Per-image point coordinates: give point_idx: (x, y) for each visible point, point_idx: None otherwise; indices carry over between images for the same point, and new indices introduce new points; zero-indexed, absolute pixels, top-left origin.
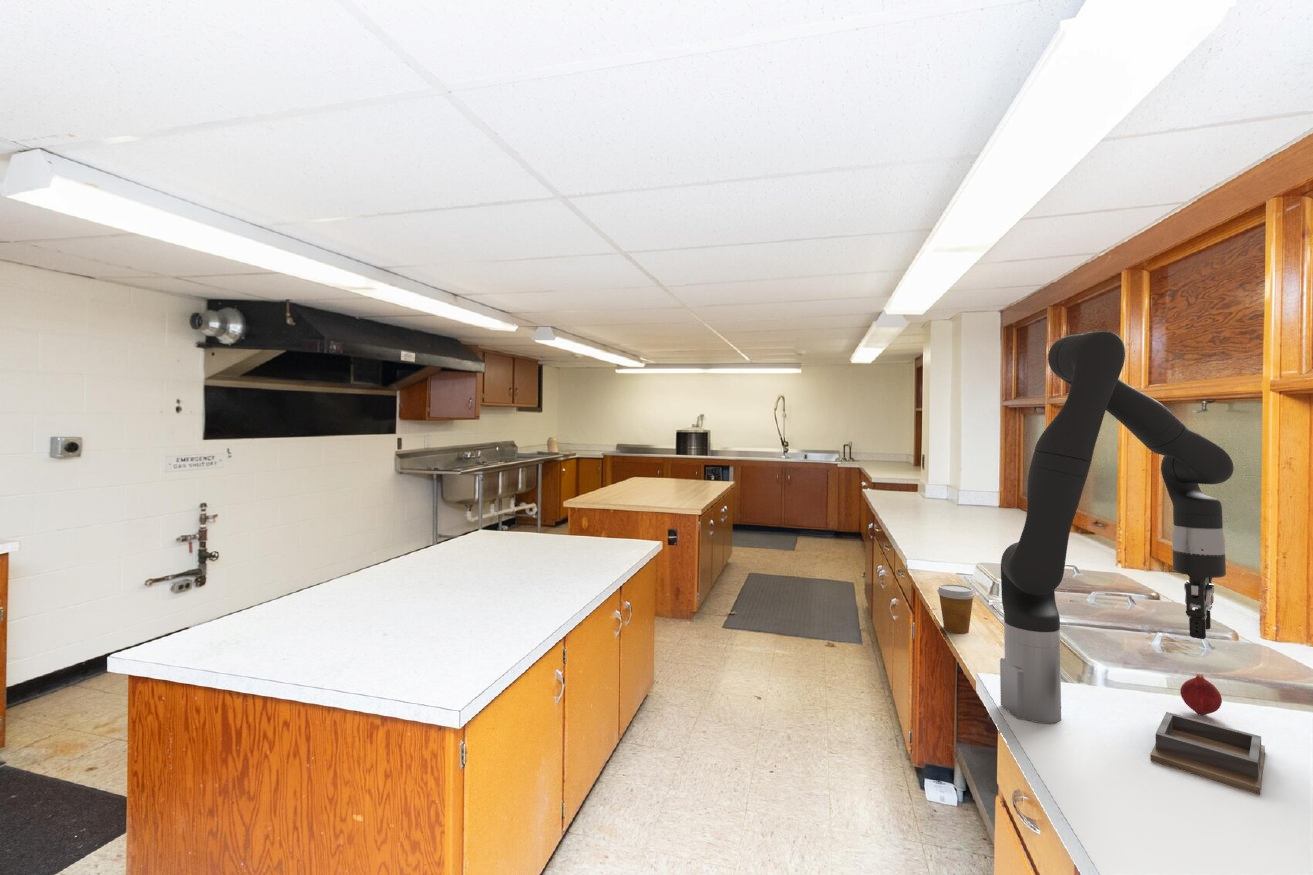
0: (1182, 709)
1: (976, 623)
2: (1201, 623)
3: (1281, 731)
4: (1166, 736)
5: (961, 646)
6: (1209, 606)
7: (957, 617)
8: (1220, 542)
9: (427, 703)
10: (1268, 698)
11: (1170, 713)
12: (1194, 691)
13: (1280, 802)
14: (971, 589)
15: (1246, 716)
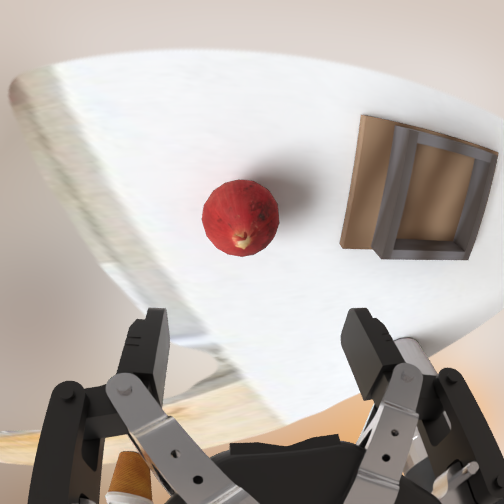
0: None
1: None
2: (401, 357)
3: (218, 78)
4: (471, 248)
5: None
6: (407, 411)
7: (146, 475)
8: None
9: None
10: (25, 118)
11: (386, 253)
12: (274, 234)
13: (497, 134)
14: (117, 501)
15: (172, 133)
